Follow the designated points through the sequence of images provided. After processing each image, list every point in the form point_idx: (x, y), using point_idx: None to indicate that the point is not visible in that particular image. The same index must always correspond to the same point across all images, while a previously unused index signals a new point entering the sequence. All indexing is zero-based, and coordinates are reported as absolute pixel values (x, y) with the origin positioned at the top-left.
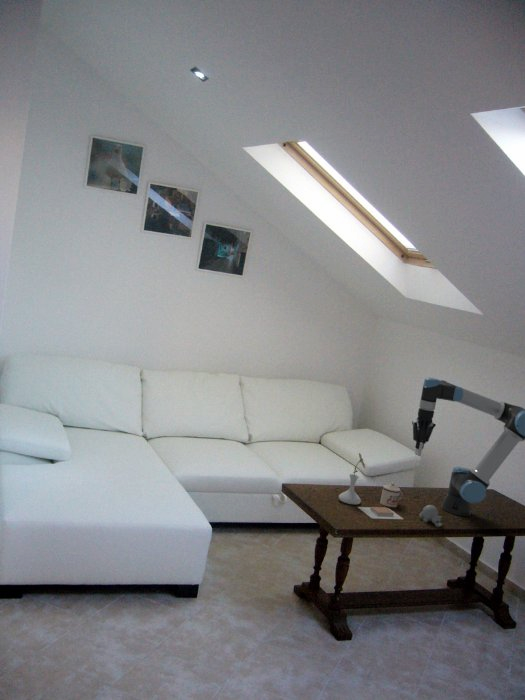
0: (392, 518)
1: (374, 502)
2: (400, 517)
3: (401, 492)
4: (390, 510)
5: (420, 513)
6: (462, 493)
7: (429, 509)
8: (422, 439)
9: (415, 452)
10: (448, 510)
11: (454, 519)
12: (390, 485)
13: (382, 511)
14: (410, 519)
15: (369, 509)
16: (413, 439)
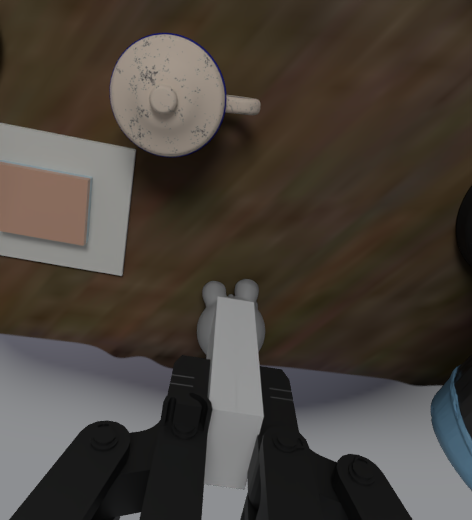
0: (65, 262)
1: (113, 48)
2: (117, 257)
3: (246, 113)
4: (123, 178)
5: (204, 295)
6: (433, 410)
7: (205, 353)
8: (294, 481)
9: (216, 308)
10: (460, 232)
11: (401, 298)
12: (142, 104)
13: (29, 223)
14: (165, 270)
15: (3, 152)
16: (85, 432)
